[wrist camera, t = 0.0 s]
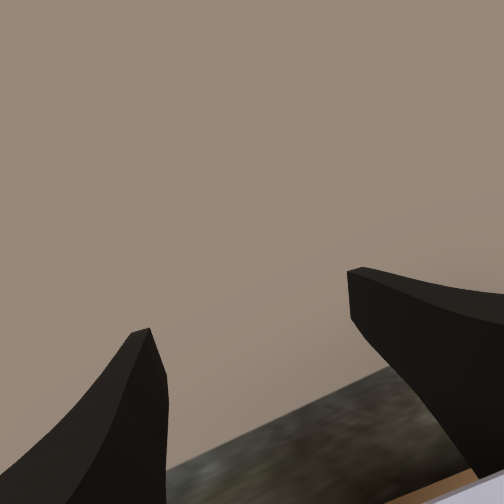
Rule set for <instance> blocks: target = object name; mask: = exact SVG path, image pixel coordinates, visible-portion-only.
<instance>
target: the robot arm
mask: <svg viewBox="0 0 504 504" xmlns="http://www.w3.org/2000/svg"><path fill="white" fill-rule="evenodd" d="M347 279H348V292H349V303H350V315H351V319H352V321H353V322H354V323H355V325H356V327H357V328H358V330H359V331H360V332H361V334H362V335H363V337H364V338H365V339H366V340H367V341H368V342H369V344H370V345H371V346H372V347H373V348H374V349H375V350H376V351H377V352H378V353H379V354H380V355H381V357H382V358H383V359H384V360H385V361H386V362H387V363H388V364H389V365H390V366H391V367H392V368H393V369H394V370H395V371H396V372H397V373H398V374H399V375H400V376H401V378H402V379H403V380H404V381H405V382H406V383H407V384H408V385H409V386H410V387H411V388H412V390H413V391H414V392H415V393H416V394H417V395H418V397H419V398H420V399H421V400H422V402H423V403H424V404H425V406H426V407H427V408H428V409H429V411H430V412H431V413H432V415H433V416H434V417H435V418H436V420H437V421H438V422H439V424H440V425H441V427H442V428H443V429H444V431H445V432H446V433H447V435H448V436H449V437H450V439H451V440H452V442H453V443H454V444H455V446H456V447H457V448H458V450H459V451H460V453H461V454H462V456H463V457H464V459H465V460H466V461H467V463H468V464H469V466H470V467H471V469H472V470H473V472H474V473H475V474H476V476H477V477H478V479H479V480H477V481H475V482H473V483H470V484H468V485H465V486H463V487H461V488H458V489H456V490H453V491H451V492H448V493H446V494H444V495H441V496H439V497H436V498H434V499H432V500H429V501H427V502H424V503H422V504H504V294H496V293H487V292H479V291H472V290H465V289H458V288H453V287H447V286H443V285H437V284H433V283H428V282H424V281H420V280H415V279H411V278H407V277H404V276H400V275H396V274H391V273H388V272H384V271H380V270H375V269H371V268H366V267H360V268H357V269H353V270H350V271H347ZM168 412H169V397H168V384H167V374H166V372H165V369H164V366H163V364H162V361H161V358H160V355H159V353H158V350H157V347H156V344H155V341H154V339H153V335H152V333H151V330H150V328H146V329H143V330H139V331H136V332H132V333H131V334H130V335H129V336H128V338H127V339H126V340H125V342H124V343H123V345H122V346H121V348H120V349H119V350H118V352H117V353H116V355H115V356H114V357H113V359H112V360H111V361H110V363H109V364H108V366H107V367H106V368H105V370H104V371H103V372H102V374H101V375H100V376H99V377H98V379H97V380H96V381H95V382H94V383H93V385H92V386H91V387H90V388H89V390H88V391H87V392H86V393H85V394H84V396H83V397H82V398H81V399H80V400H79V402H78V403H77V404H76V405H75V406H74V407H73V408H72V409H71V410H70V411H69V412H68V413H67V415H66V416H65V417H64V418H63V419H62V420H61V421H60V422H59V423H58V424H57V425H56V426H55V427H54V428H53V429H52V430H51V431H50V432H49V433H48V434H46V435H45V436H44V437H43V438H42V439H41V440H40V441H39V442H38V443H37V444H35V445H34V446H33V447H32V448H31V449H30V450H29V451H28V452H27V453H26V454H25V455H24V456H22V457H21V458H20V459H19V460H18V461H17V462H16V463H14V464H13V465H12V466H11V467H10V468H8V469H7V470H6V471H5V472H3V473H2V474H1V475H0V504H166V453H167V433H168Z"/></svg>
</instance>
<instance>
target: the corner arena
mask: <svg viewBox="0 0 504 504" xmlns="http://www.w3.org/2000/svg"><path fill="white" fill-rule="evenodd" d="M477 480H479V479H478V477H477V476H476V474H475V473H474V472H473V470H472V469H471V468H470V469H468V470H465V471H463V472H461V473H458V474H456V475H453V476H451V477H448V478H446V479H443V480H441V481H438V482H436V483H434V484H431V485H429V486H426V487H424V488H421V489H419V490H416V491H414V492H411V493H409V494H407V495H404V496H402V497H399V498H397V499H394V500H392V501H389V502H387V503H384V504H422V503H424V502H427V501H429V500H432V499H434V498H436V497H439V496H441V495H444V494H446V493H448V492H451V491H453V490H456V489H458V488H461V487H463V486H465V485H468V484H470V483H473V482H475V481H477Z"/></svg>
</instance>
